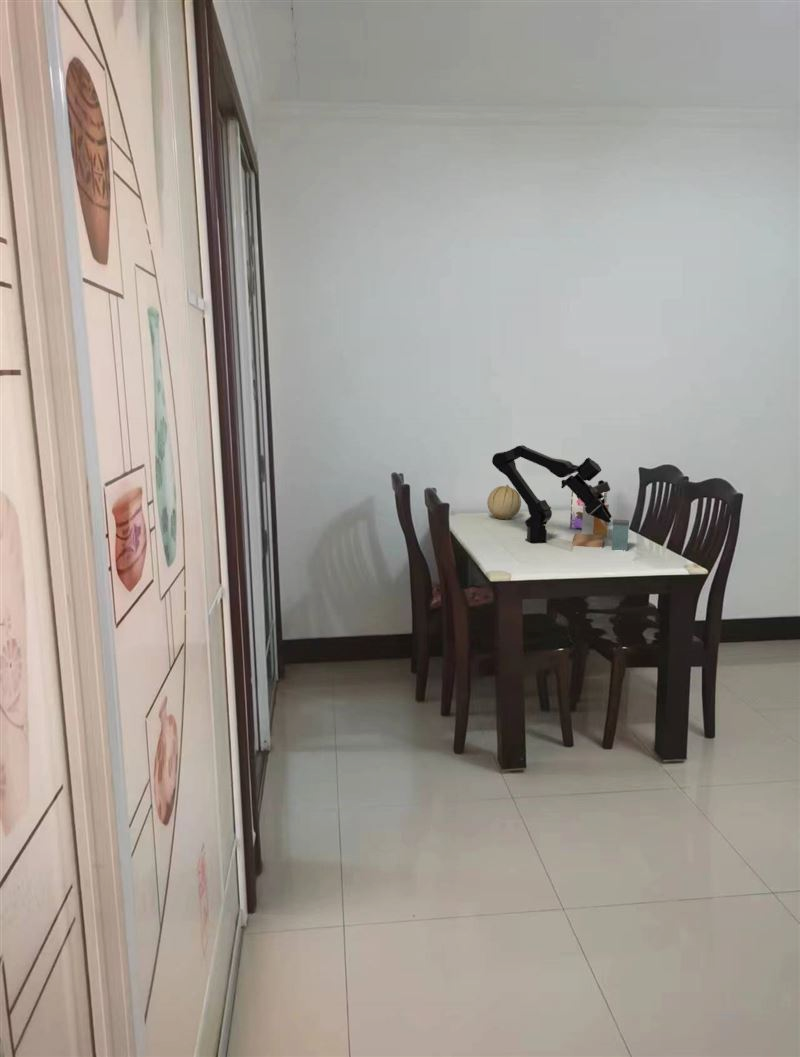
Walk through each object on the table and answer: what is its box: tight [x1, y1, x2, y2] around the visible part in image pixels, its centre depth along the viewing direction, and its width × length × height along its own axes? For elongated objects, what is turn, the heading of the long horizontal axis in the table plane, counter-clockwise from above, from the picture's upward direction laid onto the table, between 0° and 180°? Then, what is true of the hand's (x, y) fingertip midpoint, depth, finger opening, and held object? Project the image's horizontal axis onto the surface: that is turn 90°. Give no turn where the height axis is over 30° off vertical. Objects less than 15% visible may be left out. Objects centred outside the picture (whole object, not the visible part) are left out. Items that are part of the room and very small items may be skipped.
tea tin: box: [611, 519, 630, 552], centre depth 292 cm, size 6×6×10 cm
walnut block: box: [572, 533, 605, 549], centre depth 302 cm, size 11×11×3 cm
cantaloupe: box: [487, 484, 522, 520], centre depth 351 cm, size 15×15×15 cm
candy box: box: [569, 490, 608, 530], centre depth 329 cm, size 14×6×16 cm, turn 68°
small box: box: [581, 503, 609, 537], centre depth 315 cm, size 8×6×13 cm
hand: (610, 519), depth 292 cm, fingers open, 9 cm apart
